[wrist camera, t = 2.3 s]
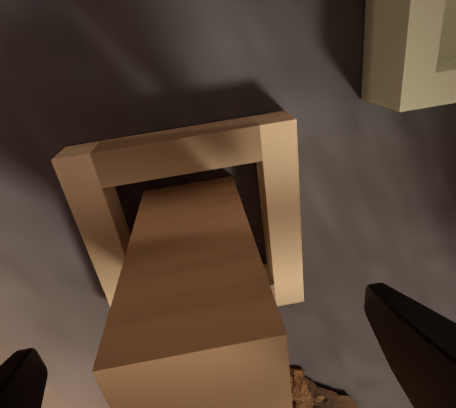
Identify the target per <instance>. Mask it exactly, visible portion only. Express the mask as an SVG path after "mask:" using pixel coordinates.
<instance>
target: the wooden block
mask: <svg viewBox="0 0 456 408" xmlns="http://www.w3.org/2000/svg"><path fill="white" fill-rule="evenodd" d="M92 373H93V375H94V377H95V379H96V381H97V383H98V385H99V387H100V389H101V391H102V393H103V395H104V397H105V399H106V401H107V403H108V405H109V407H110V408H293V407H292V394H291V381H290V368H289V355H288V342H287V333H286V330H285V327H284V324H283V322H282V319H281V316H280V313H279V310H278V307H277V304H276V301H275V298H274V295H273V292H272V289H271V286H270V284H269V281H268V278H267V275H266V272H265V269H264V266H263V263H262V260H261V257H260V254H259V251H258V249H257V246H256V243H255V240H254V237H253V234H252V231H251V228H250V225H249V222H248V219H247V216H246V214H245V211H244V208H243V205H242V202H241V199H240V196H239V193H238V190H237V187H236V184H235V181H234V179H233V176H230V177H224V178H218V179H212V180H207V181H201V182H195V183H189V184H183V185H177V186H172V187H166V188H160V189H154V190H148V191H143V195H142V198H141V202H140V205H139V209H138V212H137V216H136V219H135V223H134V226H133V230H132V233H131V237H130V241H129V244H128V248H127V251H126V255H125V258H124V262H123V265H122V269H121V272H120V276H119V279H118V283H117V286H116V290H115V293H114V297H113V300H112V304H111V307H110V311H109V314H108V318H107V321H106V325H105V328H104V332H103V335H102V339H101V342H100V346H99V349H98V353H97V356H96V360H95V363H94V367H93V370H92Z"/></svg>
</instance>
